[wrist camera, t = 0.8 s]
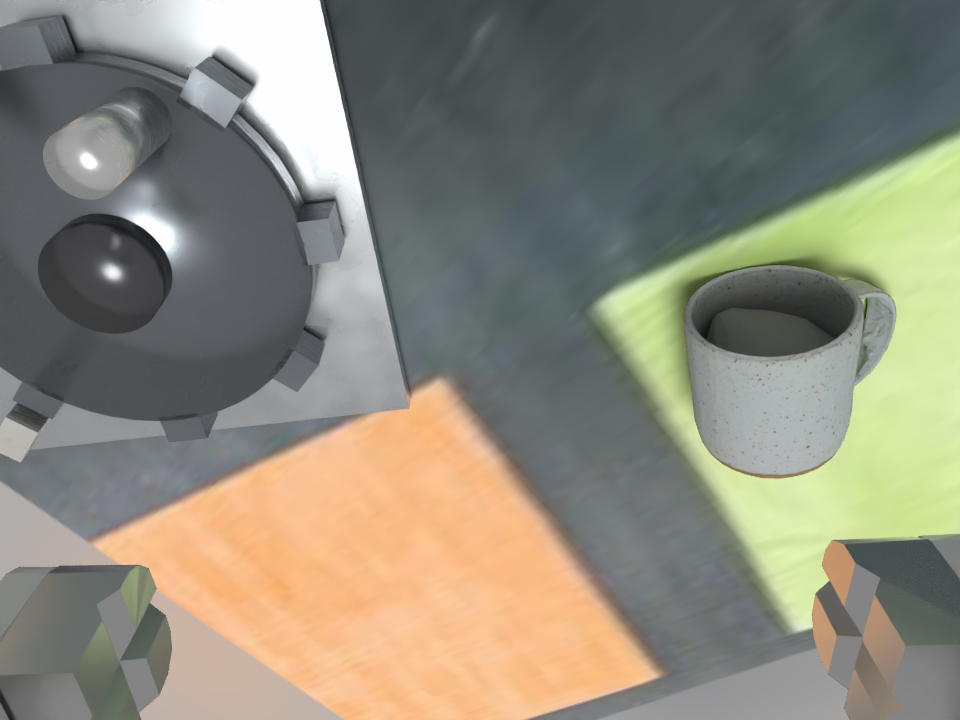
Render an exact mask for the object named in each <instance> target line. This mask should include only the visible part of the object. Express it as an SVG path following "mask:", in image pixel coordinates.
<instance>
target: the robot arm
mask: <svg viewBox="0 0 960 720" xmlns="http://www.w3.org/2000/svg"><path fill="white" fill-rule="evenodd" d="M822 567H823V569H824V571H825V572H826V574H827V576H828V578H829V580H830V581H829V582H828V583H827V584H825V585H824V586H823V587H822V588H821V589H820V590H819V591H818V592H817V593H816V594H815V599H814V605H813V611H812V622H813V633H814V640H815V643H816V646H817V650H818V653H819V656H820V658H821V660H822V663H823V665H824V667H825V669H826V671H827V674H828V675H829V676H831V677H832V678H833V679H835V680H836V681H837V682H839V683H840V684H841V685H843V686H844V687H845V688H847V689H848V693H847V697H846V701H845V705H844V709H845V712H846V714H847V716H848V718H849V720H960V534H947V535H928V536H919V537H894V538H871V539H848V540H832V541H831V543H830V544H829V545H828V547H827V548H826V550H825V554H824V558H823V562H822ZM156 589H157V588H156V586H155V583H154V581H153V578H152V575H151V573H150V570H149V568H146V567H144V566H141V565H95V566H94V565H93V566H92V565H90V566H59V567H18V568H16V569H14V570H13V571H11V572H9V573H7V574H6V575H5V576H4V577H3V579H2V580H1V581H0V720H141V717H140V714H139V712H140V711H142V710H143V709H144V708H145V707H146V706H147V705H149V703H151V702H152V701H153V700H154V699H156V698H157V697H158V696H159V695H160V692H161V690H162V687H163V685H164V682H165V680H166V677H167V675H168V671H169V664H170V657H171V652H172V644H171V631H170V627H169V624H168V621H167V618H166V615H164V614H163V613H162V612H161V611H159V610H158V609H157V608H155V607H154V606H153V605H151V604H150V601H151V599H152V597H153V595H154V593H155V591H156Z"/></svg>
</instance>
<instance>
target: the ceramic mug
mask: <svg viewBox="0 0 960 720" xmlns="http://www.w3.org/2000/svg"><path fill="white" fill-rule="evenodd" d="M863 298H867V300H868V302H867V312H866V318H865V322H864V311H863V303H862V301H861V299H863ZM895 322H896V306H895V303H894V300H893V299H892V298H891V296H890V295H889V294H887V293H886V292H884V291H883V290H881V289H879V288H876V287H874V286H872V285H870V284H869V283H866V282H863V281H860V280H852V279H850V280H844V281H841V280H840V279H838V278H836V277H834V276H832V275H830V274H826V273H824V272H822V271H818V270H813V269H809V268H806V267H796V266H790V265H769V266H759V267H751V268H745V269H741V270H736V271H733V272H730V273H726V274H724V275H721V276H719V277H717V278H714V279H712V280H710V281H709V282H707V283H706V284H704V285H703V286H701V287H700V288H698V290H697V291H696V292H695V293H694V294H693V295H692V296H691V298H690V299H689V301H688V303H687V305H686V308H685V311H684V330H685V337H686V344H687V354H688V365H689V375H690V380H691V388H692V400H693V409H694V418H695V422H696V425H697V428H698V431H699V434H700V437H701V439H702V442H703V443H704V445H705V446H706V448H707V449H708V451H709V452H710V453H711V454H712V455H713V457H715V458H716V459H717V460H718V461H720V462H721V463H722V464H724V465H725V466H727V467H729V468H731V469H733V470H735V471H738V472H741V473H744V474H747V475H751V476H756V477H760V478H778V479H779V478H787V477H794V476H798V475H803V474H805V473H808V472H810V471H813V470H815V469H818V468H819V467H821V466H822V465H824V464H825V463H826V462H828V461H829V460H830V459H831V458H832V457H833V456H834V455H835V453H836V452H837V451H838V449H839V448H840V446H841V444H842V442H843V440H844V438H845V435H846V432H847V429H848V426H849V422H850V417H851V412H852V402H853V389H854V386H855V385H857V384H858V383H859V382H860V381H862V380H863V379H864V378H865V377H866V376H867V375H869V374H870V373H871V372H872V371H873V369H874V368H875V367H876V365H877V364H878V363H879V361H880V360H881V358H882V356H883V355H884V353H885V351H886V350H887V347H888V345H889V343H890V340H891V338H892V334H893V331H894V327H895ZM863 323H864V329H863ZM862 330H863V333H862Z"/></svg>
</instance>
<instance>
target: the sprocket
mask: <svg viewBox="0 0 960 720" xmlns="http://www.w3.org/2000/svg"><path fill="white" fill-rule="evenodd" d="M0 66H1V68H2V69H1V70H0V367H1V368H2V369H4V370H5V371H7V372H8V373H10V374H11V375H13V376H14V377H16V378H17V379H19V380H20V381H22V383H21V385H20V387H19V388H18V390H17V392H16V394H15V396H14V397H13V399H12V400H13V401H15V402H17V403H19V404H21V405H23V406H26V407H28V408H30V409H32V410H34V411H36V412H38V413H40V414H42V415H44V416H46V417H48V418H50V419H52V420H53V418H54V417H55V415H56V414H57V413H58V411H59V410H60V409H61V407H62V406H63V405H64V403H66V404H69V405H72V406H75V407H78V408H81V409H84V410H87V411H90V412H94V413H98V414H103V415H107V416H111V417H117V418H124V419H130V420H142V421H160V423H161V425H162V427H163V430H164V432H165V434H166V436H167V438H168V441H169V442H176V441H185V440H195V439H204V438H208V436H209V434H210V431H211V429H212V427H213V425H214V423H215V420H216V418H217V416H218V411H221V410H223V409H226V408H228V407H230V406H233V405H235V404H237V403H240V402H241V401H243V400H244V399H246V398H248V397H249V396H251V395H253V394H254V393H256V392H257V391H259V390H260V389H261V388H262V387H263V386H265V385H266V384H267V383H268V382H269V381H271V380H272V379H274V380H276V381H278V382H280V383H282V384H283V385H285V386H287V387H289V388H290V389H292V390H294V391H296V392H298V391H299V390H300V389H301V387H302V386H303V385H304V383H305V382H306V381H307V380H308V378H309V377H310V376H311V375H312V373H313V372H314V371H315V370H316V368H317V367H318V366H319V363H320V360H321V356H322V353H323V350H324V346H325V343H324V342H323V341H321V340H319V339H318V338H316V337H314V336H313V335H311V334H309V333H308V332H306V331H304V330H303V329H304V326H305V323H306V320H307V317H308V315H309V312H310V309H311V305H312V301H313V297H314V293H315V288H316V278H317V264H320V263H328V262H336V261H339V259H340V256H341V253H342V250H343V246H344V243H345V240H344V236H343V232H342V228H341V224H340V220H339V216H338V211H337V207H336V203H335V201H331V202H323V203H315V204H307V205H305V203H304V201H303V199H302V197H301V195H300V193H299V191H298V189H297V187H296V185H295V183H294V180H293V179H292V177H291V176H290V174H289V173H288V171H287V169H286V168H285V166H284V165H283V163H282V162H281V160H280V159H279V157H278V156H277V155H276V153H275V152H274V151H273V150H272V149H271V147H270V146H269V145H268V144H267V142H266V141H265V140H264V139H263V138H262V136H261V135H260V134H259V133H258V132H257V131H256V130H254V129H253V128H252V127H251V126H250V125H249V124H248V123H247V122H246V121H245V120H244V119H243V118H242V117H241V116H240V115H239V114H238V113H239V112H240V110H241V108H242V107H243V105H244V103H245V102H246V100H247V98H248V97H249V95H250V93H251V92H252V90H253V88H254V87H253V86H251V85H250V84H249V83H247V82H246V81H244V80H243V79H242V78H240V77H239V76H237V75H236V74H234V73H233V72H232V71H230V70H229V69H227V68H226V67H225V66H223V65H222V64H220V63H219V62H217V61H216V60H215V59H213V58H212V57H210V56H209V57H207V58H206V59H205V60H204V61H202V62H201V63H200V64H198V65H197V66H196V67H194V69H193V71H192V73H191V75H190V77H189V78H188V80H186V79H183V78H181V77H179V76H177V75H175V74H173V73H171V72H168V71H166V70H164V69H161V68H158V67H155V66H152V65H149V64H146V63H143V62H140V61H137V60H132V59H127V58H122V57H117V56H113V55H108V54H94V53H80V52H78V53H76V51H75V48H74V46H73V43H72V41H71V38H70V36H69V33H68V31H67V28H66V26H65V23H64V20H63V18H62V16H57V17H50V18H43V19H36V20H29V21H22V22H15V23H11V24H8V25H5V26H3V27H0Z"/></svg>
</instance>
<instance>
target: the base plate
mask: <svg viewBox="0 0 960 720" xmlns="http://www.w3.org/2000/svg"><path fill="white" fill-rule="evenodd" d="M57 16H62V18H63V20H64V23H65V26H66V28H67V31H68V33H69V36H70V38H71V41H72V43H73V46H74V48H75V51H76V53H78V52H80V53H94V54H108V55H113V56H117V57H122V58H127V59H132V60H137V61H140V62H143V63H146V64H149V65H152V66H155V67H158V68H161V69H164V70H166V71H168V72H171V73H173V74H175V75H177V76H179V77H181V78H183V79H186V80H188V78H189V77H190V75H191V73H192V71H193V69H194V67H196V66H197V65H198V64H200V63H201V62H202V61H204V60H205V59H206V58H207V57H209V56H210V57H212V58H213V59H215V60H216V61H217V62H219V63H220V64H222V65H223V66H225V67H226V68H227V69H229V70H230V71H232V72H233V73H234V74H236V75H237V76H239V77H240V78H242V79H243V80H244V81H246V82H247V83H249V84H250V85H251V86H253V87H254V88H253V90H252V92H251V93H250V95H249V97H248V98H247V100H246V102H245V103H244V105H243V107H242V108H241V110H240V112H239V113H238V114H239V115H240V116H241V117H242V118H243V119H244V120H245V121H246V122H247V123H248V124H249V125H250V126H251V127H252V128H253V129H254V130H256V131H257V132H258V133H259V134H260V135H261V136H262V138H263V139H264V140H265V141H266V142H267V144H268V145H269V146H270V147H271V149H272V150H273V151H274V152H275V153H276V155H277V156H278V157H279V159H280V160H281V162H282V163H283V165H284V166H285V168H286V169H287V171H288V173H289V174H290V176H291V177H292V179H293V180H294V183H295V185H296V187H297V189H298V191H299V193H300V195H301V197H302V199H303V201H304V203H305V205H307V204H315V203H323V202H331V201H335V203H336V207H337V211H338V216H339V220H340V224H341V228H342V232H343V236H344V240H345V243H344V246H343V250H342V253H341V256H340V259H339V261H336V262H328V263H320V264H317V278H316V288H315V293H314V297H313V301H312V305H311V309H310V312H309V315H308V317H307V320H306V323H305V326H304V329H303V330H304V331H306V332H308V333H309V334H311V335H313V336H314V337H316V338H318V339H319V340H321V341H323V342H324V343H325V346H324V350H323V353H322V356H321V360H320V363H319V366H318V367H317V368H316V370H315V371H314V372H313V373H312V375H311V376H310V377H309V378H308V380H307V381H306V382H305V383H304V385H303V386H302V387H301V389H300V390H299V391H298V392H296V391H294V390H292V389H290V388H289V387H287V386H285V385H283V384H282V383H280V382H278V381H276V380H274V379H272V380H271V381H269V382H268V383H267V384H266V385H265V386H263V387H262V388H261V389H260V390H259V391H257V392H256V393H254V394H253V395H251V396H249V397H248V398H246V399H244V400H243V401H241V402H240V403H237V404H235V405H233V406H230V407H228V408H226V409H223V410H221V411H218V416H217V418H216V420H215V423H214V425H213V427H212V429H211V430H217V429H226V428H235V427H244V426H253V425H262V424H272V423H281V422H290V421H299V420H308V419H318V418H327V417H336V416H345V415H354V414H364V413H373V412H382V411H391V410H400V409H409V407H410V398H411V397H410V393H409V388H408V383H407V379H406V374H405V370H404V365H403V360H402V356H401V351H400V347H399V342H398V337H397V333H396V328H395V324H394V319H393V314H392V310H391V305H390V301H389V296H388V291H387V287H386V282H385V278H384V273H383V268H382V264H381V259H380V255H379V250H378V245H377V241H376V236H375V232H374V227H373V222H372V218H371V213H370V209H369V204H368V199H367V195H366V190H365V186H364V181H363V176H362V172H361V167H360V163H359V158H358V153H357V149H356V144H355V140H354V135H353V130H352V126H351V121H350V117H349V112H348V107H347V103H346V98H345V94H344V89H343V84H342V80H341V75H340V71H339V66H338V61H337V57H336V52H335V48H334V43H333V38H332V34H331V29H330V25H329V20H328V15H327V11H326V6H325V2H324V0H0V27H3V26H5V25H8V24H11V23H15V22H22V21H29V20H36V19H43V18H50V17H57ZM1 69H2V68H1V66H0V70H1ZM21 383H22V381H20V380H19V379H17V378H16V377H14V376H13V375H11V374H10V373H8V372H7V371H5V370H4V369H2V368H1V367H0V453H1V454H3V455H5V456H8V457H10V458H12V459H14V460H16V461H18V462H20V463H21V461H22V460H23V459H24V457H25V456H26V455H27V453H28V452H29V451H30V450H33V449H42V448H51V447H60V446H69V445H79V444H88V443H97V442H106V441H115V440H125V439H134V438H143V437H152V436H161V435H166V434H165V432H164V430H163V427H162V425H161V423H160V421H142V420H130V419H124V418H117V417H111V416H107V415H103V414H98V413H94V412H90V411H87V410H84V409H81V408H78V407H75V406H72V405H69V404H66V403H64V405H63V406H62V407H61V409H60V410H59V411H58V413H57V414H56V415H55V417H54V418H53V420H52V419H50V418H48V417H46V416H44V415H42V414H40V413H38V412H36V411H34V410H32V409H30V408H28V407H26V406H23V405H21V404H19V403H17V402H15V401H13V400H12V399H13V397H14V396H15V394H16V392H17V390H18V388H19V387H20V385H21Z"/></svg>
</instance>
